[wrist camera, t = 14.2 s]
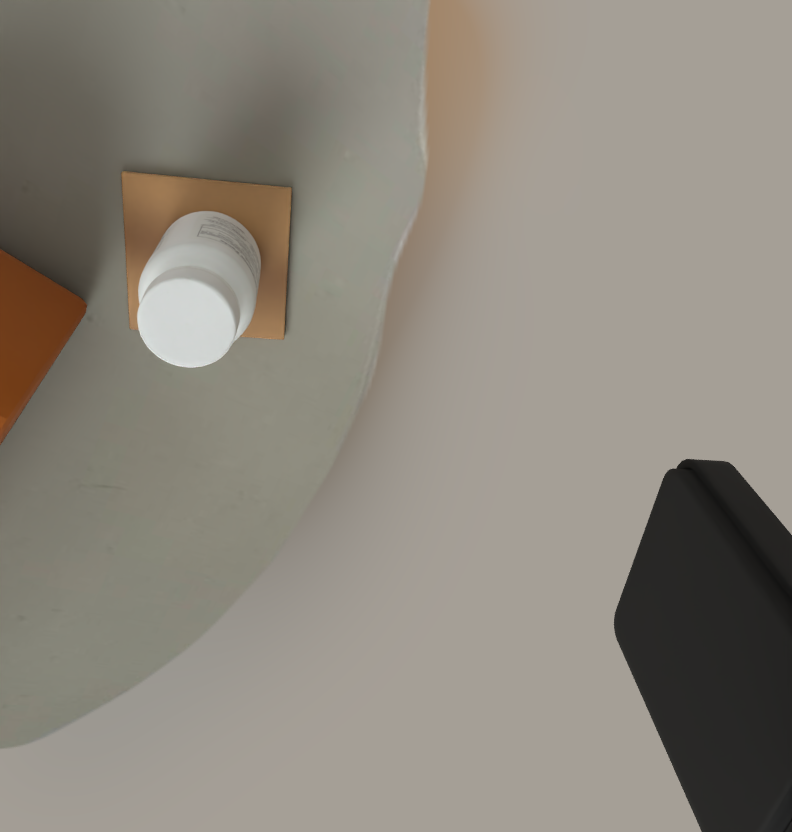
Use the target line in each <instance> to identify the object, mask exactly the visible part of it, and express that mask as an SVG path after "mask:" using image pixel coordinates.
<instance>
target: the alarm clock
mask: <svg viewBox="0 0 792 832" xmlns="http://www.w3.org/2000/svg"><path fill="white" fill-rule="evenodd" d="M86 308H87V304H86V303H85V302H84V301H83V299H82V298H80V297H78V296H77V295H75V294H74V293H72V292H70V291H69V290H67V289H65V288H64V287H62V286H60V285H59V284H57V283H55V282H54V281H52V280H50V279H49V278H47V277H46V276H44V275H42V274H41V273H39V272H37V271H36V270H34V269H32V268H31V267H29V266H27V265H26V264H24V263H22V262H21V261H19V260H18V259H16V258H14V257H13V256H11V255H9V254H8V253H6V252H4V251H3V250H1V249H0V445H1V443H2V442H3V440H4V439H5V437H6V435H7V434H8V432H9V431H10V429H11V428H12V426H13V425H14V423H15V422H16V420H17V418H18V417H19V415H20V414H21V412H22V411H23V409H24V408H25V406H26V405H27V403H28V401H29V400H30V398H31V397H32V395H33V394H34V392H35V391H36V389H37V388H38V386H39V384H40V383H41V381H42V380H43V378H44V377H45V375H46V374H47V372H48V371H49V369H50V367H51V366H52V364H53V363H54V361H55V360H56V358H57V357H58V355H59V354H60V352H61V350H62V349H63V347H64V346H65V344H66V343H67V341H68V340H69V338H70V337H71V335H72V333H73V332H74V330H75V329H76V327H77V326H78V324H79V323H80V321H81V319H82V318H83V316H84V315H85V313H86Z"/></svg>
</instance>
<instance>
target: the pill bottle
mask: <svg viewBox="0 0 792 832" xmlns="http://www.w3.org/2000/svg"><path fill="white" fill-rule="evenodd" d="M260 270H261V258H260V253H259V249H258V246H257V244H256V242H255V240H254V238H253V236H252V235H251V234H250V232H249V231H248V230H247V229H246V228H245V227H244V226H243V225H242V224H241V223H239V222H238V221H236V220H235V219H233V218H232V217H229V216H227V215H225V214H222V213H219V212H214V211H199V212H193V213H190V214H187V215H185V216H183V217H181V218H179V219H178V220H176V221H175V222H174V223H173V224H172V225H171V226H170V227H169V228H168V229H167V230H166V232H165V234H164V235H163V237H162V239H161V241H160V242H159V244H158V246H157V247H156V249H155V251H154V252H153V254H152V256H151V257H150V259H149V260H148V262H147V264H146V266H145V268H144V270H143V272H142V274H141V277H140V281H139V286H138V297H139V304H140V305H139V308H138V312H137V323H138V328H139V332H140V335H141V337H142V339H143V341H144V342H145V344H146V345H147V347H148V348H149V349H150V350H151V351H152V352H153V353H154V354H155V355H156V356H158V357H159V358H160V359H162V360H164V361H166V362H168V363H170V364H173V365H177V366H180V367H201V366H205V365H208V364H211V363H213V362H215V361H217V360H218V359H220V358H221V357H222V356H223V355H224V354H225V353H226V352H227V351H228V350H229V349H230V347H231V346H232V344H233V342H234V341H235V340H236V339H238V338H239V337H240V336H241V335H242V334H243V332H244V331H245V330H246V329H247V327H248V325H249V324H250V322H251V319H252V317H253V313H254V310H255V306H256V298H257V293H258V285H259V279H260Z"/></svg>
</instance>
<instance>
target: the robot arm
mask: <svg viewBox="0 0 792 832" xmlns="http://www.w3.org/2000/svg"><path fill="white" fill-rule="evenodd" d="M614 629H615V635H616V638H617V641H618V643H619V645H620V648H621V650H622V652H623V654H624V657H625V659H626V661H627V663H628V666H629V668H630V670H631V672H632V675H633V677H634V679H635V682H636V684H637V686H638V688H639V691H640V693H641V695H642V697H643V699H644V701H645V704H646V706H647V708H648V711H649V713H650V715H651V718H652V720H653V722H654V724H655V727H656V729H657V731H658V733H659V736H660V738H661V740H662V742H663V745H664V747H665V749H666V752H667V754H668V756H669V758H670V761H671V763H672V765H673V767H674V770H675V772H676V774H677V776H678V779H679V781H680V783H681V786H682V788H683V790H684V792H685V794H686V797H687V799H688V801H689V804H690V806H691V808H692V810H693V813H694V815H695V817H696V819H697V822H698V824H699V826H700V829H701V831H702V832H792V535H791V534H790V533H789V531H788V530H787V529H786V528H785V527H784V525H783V524H782V523H781V522H780V521H779V519H778V518H777V517H776V516H775V515H774V513H773V512H772V511H771V510H770V509H769V508H768V506H767V505H766V504H765V503H764V502H763V501H762V499H761V498H760V497H759V496H758V494H757V493H756V492H755V491H754V490H753V489H752V487H750V485H749V484H748V483H747V482H746V480H744V478H743V477H742V476H741V474H740V473H739V472H738V471H737V470H736V468H735V467H734V466H733V465H731V464H730V463H729V462H724V461H711V460H710V461H709V460H694V459H686V460H684V461H682V462H681V463H680V464H679V465H678V466H677V468H676V469H671V470H669V471H668V472H667V473H666V474H665V476H664V478H663V481H662V484H661V487H660V489H659V492H658V495H657V498H656V501H655V503H654V506H653V509H652V511H651V514H650V517H649V520H648V523H647V526H646V528H645V531H644V534H643V537H642V539H641V542H640V545H639V548H638V550H637V553H636V556H635V559H634V562H633V565H632V567H631V570H630V573H629V576H628V579H627V581H626V584H625V587H624V589H623V592H622V595H621V598H620V601H619V603H618V606H617V609H616V612H615V618H614Z"/></svg>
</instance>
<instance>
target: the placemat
mask: <svg viewBox="0 0 792 832" xmlns="http://www.w3.org/2000/svg"><path fill="white" fill-rule="evenodd" d="M121 176H122V194H123V213H124V231H125V250H126V268H127V287H128V306H129V324H130V329H134V330H139V328H138V323H137V312H138V308H139V305H140V304H139V297H138V286H139V281H140V277H141V274H142V272H143V270H144V268H145V266H146V264H147V262H148V260H149V259H150V257H151V256H152V254H153V252H154V251H155V249H156V247H157V246H158V244H159V242H160V241H161V239H162V237H163V235H164V234H165V232H166V230H167V229H168V228H169V227H170V226H171V225H172V224H173V223H174V222H175V221H176V220H178V219H179V218H181V217H183V216H185V215H187V214H190V213H193V212H199V211H214V212H219V213H222V214H225V215H227V216H229V217H232V218H233V219H235V220H236V221H238V222H239V223H241V224H242V225H243V226H244V227H245V228H246V229H247V230H248V231H249V232H250V234H251V235H252V236H253V238H254V240H255V242H256V244H257V246H258V249H259V253H260V258H261V270H260V279H259V285H258V293H257V298H256V306H255V310H254V313H253V317H252V319H251V322H250V324H249V325H248V327H247V329H246V330H245V331H244V332H243V334H242V335H241V336H240V337H253V338H268V339H282V340H283V339H284V330H285V310H286V291H287V272H288V252H289V233H290V214H291V194H292V188H290V187H280V186H270V185H259V184H249V183H239V182H229V181H219V180H208V179H198V178H188V177H178V176H168V175H157V174H147V173H137V172H127V171H123V172H122V173H121Z"/></svg>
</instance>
